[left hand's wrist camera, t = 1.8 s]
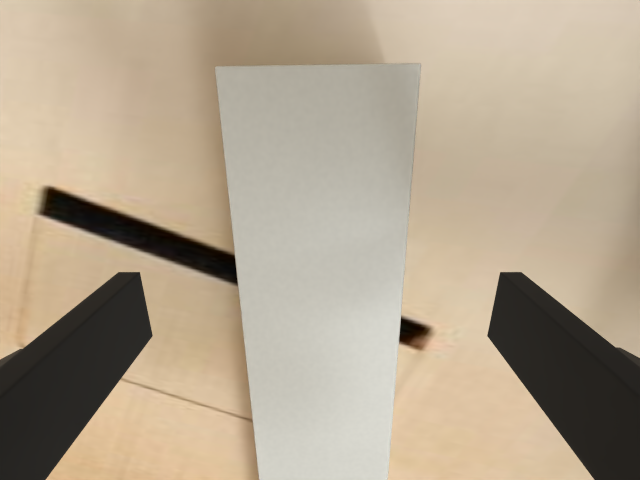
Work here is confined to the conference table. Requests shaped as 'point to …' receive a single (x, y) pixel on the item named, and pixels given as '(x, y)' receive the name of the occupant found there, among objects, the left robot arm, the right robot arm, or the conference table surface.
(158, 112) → the conference table surface
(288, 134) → the wide beam
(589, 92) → the conference table surface
